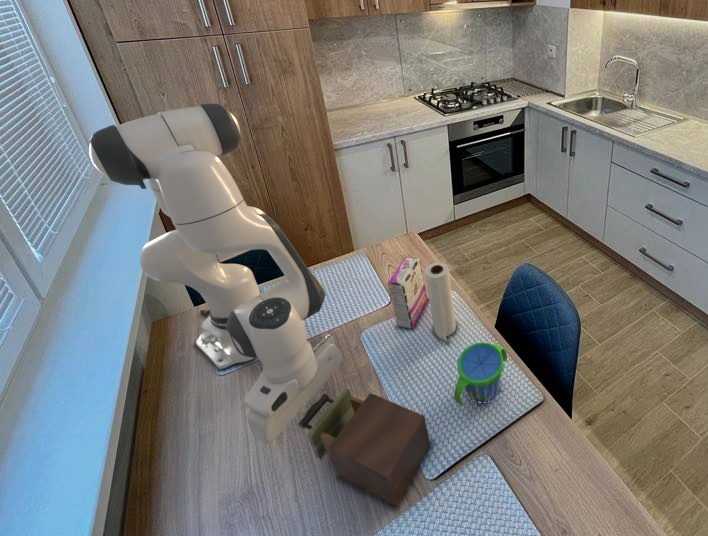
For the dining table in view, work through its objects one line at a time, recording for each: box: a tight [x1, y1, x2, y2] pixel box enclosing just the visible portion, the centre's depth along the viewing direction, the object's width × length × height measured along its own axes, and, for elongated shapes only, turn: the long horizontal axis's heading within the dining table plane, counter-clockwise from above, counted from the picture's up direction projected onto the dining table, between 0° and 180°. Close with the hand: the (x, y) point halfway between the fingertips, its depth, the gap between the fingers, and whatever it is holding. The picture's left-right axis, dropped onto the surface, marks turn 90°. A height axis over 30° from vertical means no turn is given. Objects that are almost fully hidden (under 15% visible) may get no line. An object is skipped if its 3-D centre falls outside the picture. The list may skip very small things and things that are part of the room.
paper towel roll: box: [424, 261, 457, 343], centre depth 108 cm, size 7×6×21 cm
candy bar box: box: [387, 256, 428, 329], centre depth 115 cm, size 11×5×16 cm, turn 168°
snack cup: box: [453, 342, 508, 407], centre depth 94 cm, size 16×10×10 cm
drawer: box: [297, 387, 364, 461], centre depth 85 cm, size 18×11×8 cm, turn 68°
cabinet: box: [329, 392, 431, 508], centre depth 81 cm, size 14×12×10 cm
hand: (309, 411), depth 88 cm, fingers closed
